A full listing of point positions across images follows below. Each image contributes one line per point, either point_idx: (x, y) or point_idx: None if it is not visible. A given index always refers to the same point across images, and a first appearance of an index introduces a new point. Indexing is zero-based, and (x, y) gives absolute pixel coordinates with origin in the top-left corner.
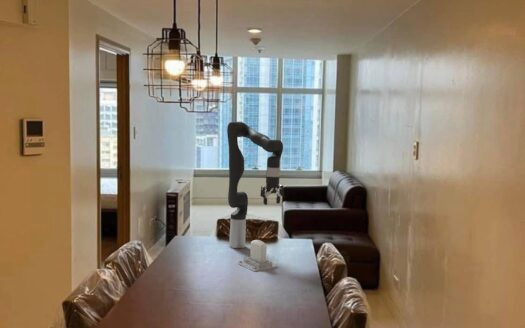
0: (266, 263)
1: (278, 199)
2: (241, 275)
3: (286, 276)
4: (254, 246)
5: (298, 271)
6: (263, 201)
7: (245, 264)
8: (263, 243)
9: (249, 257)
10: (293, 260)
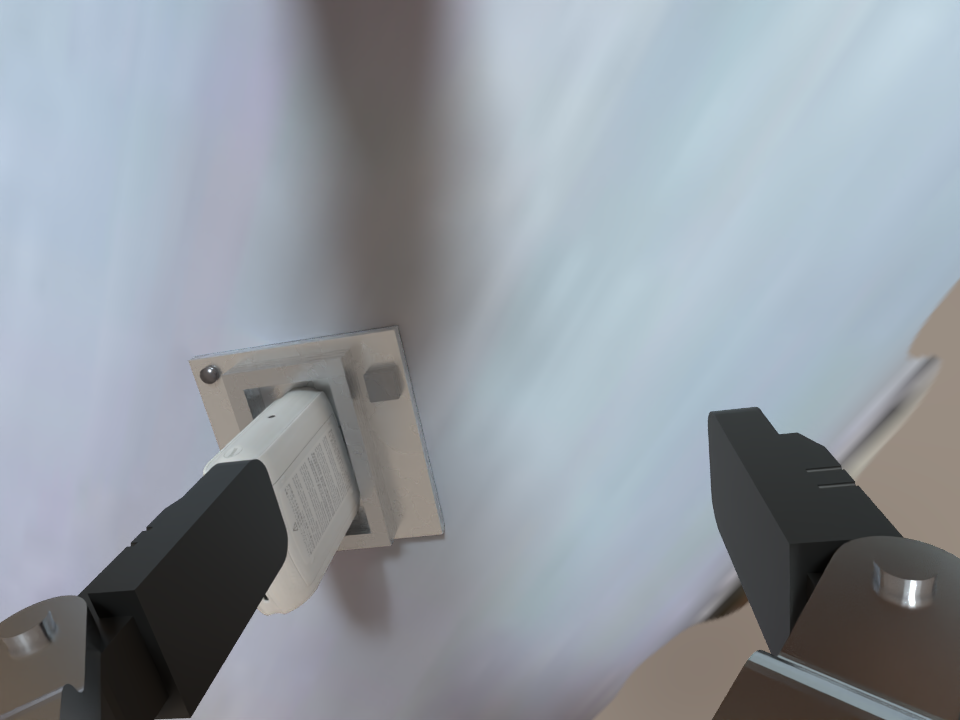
0: (341, 549)
1: (755, 608)
2: None
3: (412, 676)
4: None
5: (529, 635)
6: (144, 534)
7: (228, 437)
8: (274, 609)
9: (267, 384)
10: (643, 424)
